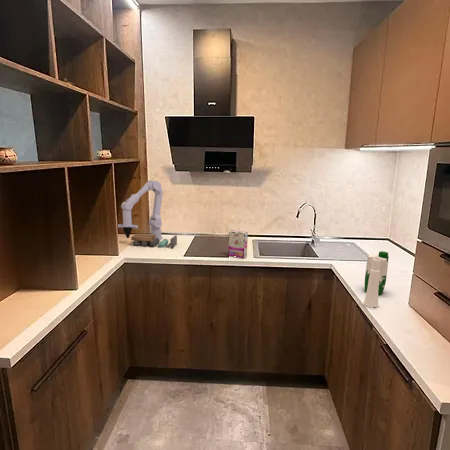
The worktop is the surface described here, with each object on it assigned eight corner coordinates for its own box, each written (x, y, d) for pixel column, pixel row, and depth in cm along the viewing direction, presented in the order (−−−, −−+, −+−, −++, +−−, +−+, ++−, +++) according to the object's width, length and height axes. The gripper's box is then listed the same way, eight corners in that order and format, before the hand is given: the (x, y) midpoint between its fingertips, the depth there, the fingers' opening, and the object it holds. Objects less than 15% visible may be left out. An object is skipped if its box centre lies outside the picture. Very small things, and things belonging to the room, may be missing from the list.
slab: (136, 236, 238) (136, 233, 238) (155, 238, 236) (155, 234, 236) (131, 240, 228) (131, 236, 228) (150, 241, 227) (150, 237, 226)
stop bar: (174, 244, 236) (174, 235, 235) (176, 244, 236) (176, 235, 235) (170, 248, 225) (170, 239, 224) (172, 248, 225) (172, 239, 224)
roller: (165, 245, 226) (161, 241, 226) (161, 249, 227) (157, 245, 227) (169, 241, 236) (165, 237, 236) (166, 245, 237) (161, 241, 236)
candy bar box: (247, 257, 210) (248, 231, 207) (244, 259, 206) (244, 233, 202) (231, 254, 215) (232, 229, 212) (228, 256, 211) (228, 231, 208)
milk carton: (382, 297, 153) (387, 255, 149) (361, 292, 158) (366, 252, 154) (385, 291, 160) (390, 251, 156) (365, 286, 165) (370, 248, 161)
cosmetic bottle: (375, 309, 140) (381, 259, 136) (361, 304, 144) (366, 256, 140) (380, 305, 144) (386, 257, 140) (366, 300, 149) (372, 253, 144)
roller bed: (138, 242, 239) (138, 237, 238) (170, 244, 236) (170, 238, 235) (132, 245, 229) (132, 240, 228) (166, 247, 226) (166, 242, 225)
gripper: (114, 219, 228) (115, 238, 231) (134, 220, 226) (135, 239, 229) (119, 217, 235) (120, 236, 238) (138, 218, 233) (139, 237, 236)
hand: (127, 237), depth 234 cm, fingers closed
